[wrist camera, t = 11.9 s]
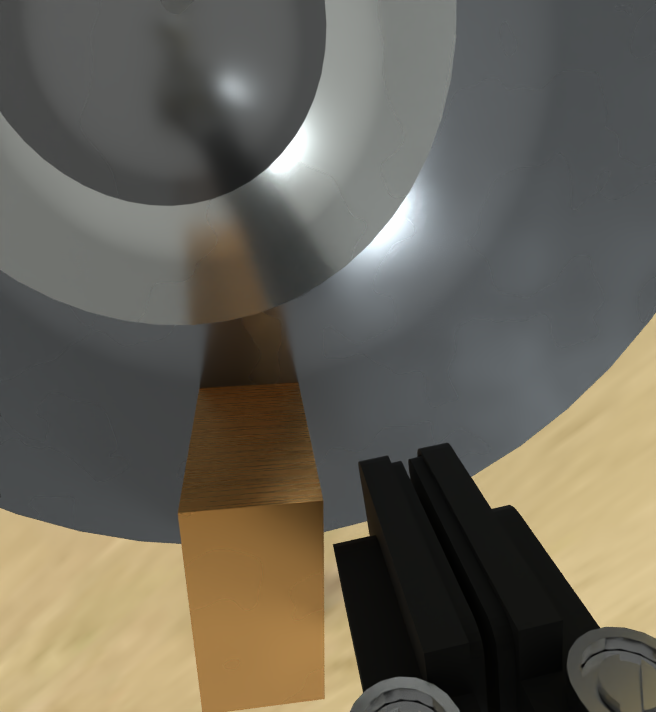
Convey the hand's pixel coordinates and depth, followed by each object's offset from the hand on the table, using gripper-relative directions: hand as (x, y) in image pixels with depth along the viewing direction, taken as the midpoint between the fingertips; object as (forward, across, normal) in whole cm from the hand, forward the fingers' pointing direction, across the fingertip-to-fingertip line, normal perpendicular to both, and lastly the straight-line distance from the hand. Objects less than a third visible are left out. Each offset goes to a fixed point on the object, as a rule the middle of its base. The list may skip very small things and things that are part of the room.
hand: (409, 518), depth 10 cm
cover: (+2, +2, -8) cm, 9 cm away
